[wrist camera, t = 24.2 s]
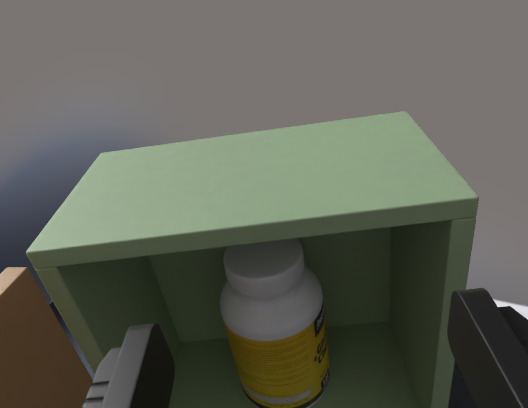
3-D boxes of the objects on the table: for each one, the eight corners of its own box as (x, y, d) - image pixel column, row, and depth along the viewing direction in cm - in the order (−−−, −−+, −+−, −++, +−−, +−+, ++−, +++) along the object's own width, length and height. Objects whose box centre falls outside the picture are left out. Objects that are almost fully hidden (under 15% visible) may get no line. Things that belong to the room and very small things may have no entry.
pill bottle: (324, 427, 27) (309, 296, 21) (230, 412, 29) (190, 287, 23) (335, 345, 32) (325, 220, 26) (254, 336, 34) (227, 218, 28)
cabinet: (443, 442, 26) (480, 197, 17) (146, 466, 27) (24, 252, 18) (398, 319, 34) (406, 110, 25) (173, 342, 36) (100, 152, 26)
